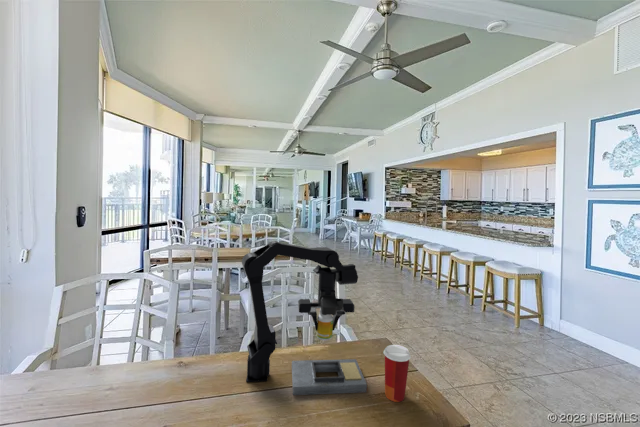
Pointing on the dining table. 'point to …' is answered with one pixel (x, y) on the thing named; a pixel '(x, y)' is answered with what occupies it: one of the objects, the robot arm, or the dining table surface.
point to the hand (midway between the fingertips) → (324, 330)
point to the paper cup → (396, 371)
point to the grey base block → (310, 384)
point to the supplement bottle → (324, 326)
